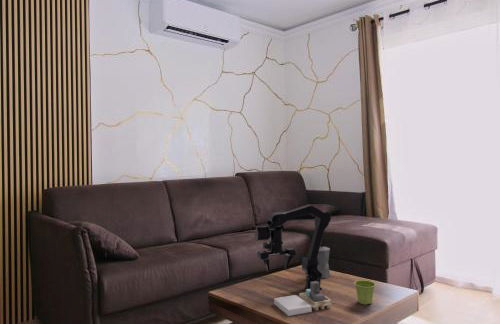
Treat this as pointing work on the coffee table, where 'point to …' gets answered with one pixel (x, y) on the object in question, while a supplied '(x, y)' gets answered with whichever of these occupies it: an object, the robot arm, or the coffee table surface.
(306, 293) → the teal block
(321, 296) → the charcoal block
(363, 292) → the plant pot
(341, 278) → the coffee table surface
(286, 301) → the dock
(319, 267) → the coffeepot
